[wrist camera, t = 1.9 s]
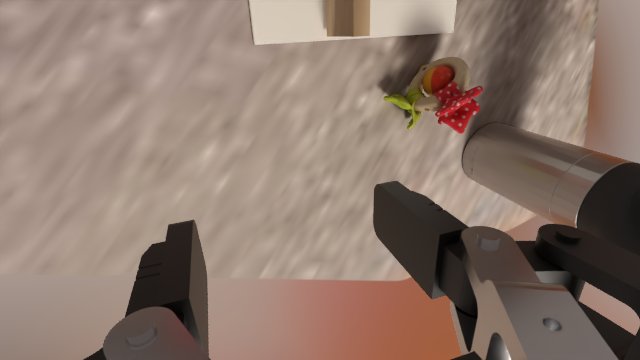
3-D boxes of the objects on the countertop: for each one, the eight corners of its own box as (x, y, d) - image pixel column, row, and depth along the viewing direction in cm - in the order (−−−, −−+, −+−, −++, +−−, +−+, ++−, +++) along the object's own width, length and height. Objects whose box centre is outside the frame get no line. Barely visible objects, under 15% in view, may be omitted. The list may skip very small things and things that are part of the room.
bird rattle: (396, 54, 42) (370, 115, 40) (478, 20, 32) (449, 98, 30) (426, 83, 45) (403, 141, 43) (509, 60, 35) (484, 133, 33)
